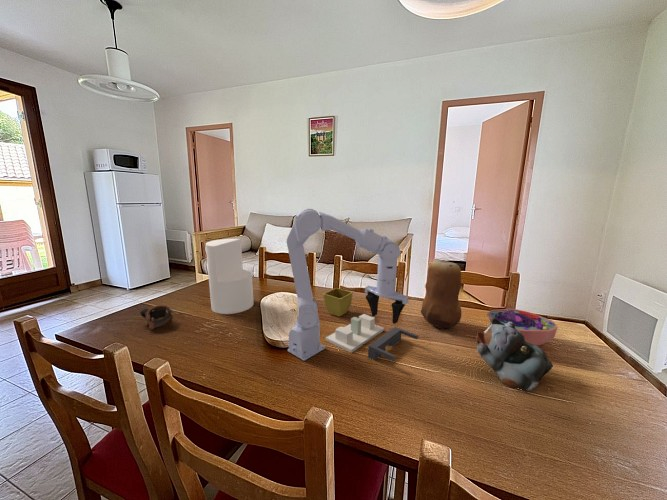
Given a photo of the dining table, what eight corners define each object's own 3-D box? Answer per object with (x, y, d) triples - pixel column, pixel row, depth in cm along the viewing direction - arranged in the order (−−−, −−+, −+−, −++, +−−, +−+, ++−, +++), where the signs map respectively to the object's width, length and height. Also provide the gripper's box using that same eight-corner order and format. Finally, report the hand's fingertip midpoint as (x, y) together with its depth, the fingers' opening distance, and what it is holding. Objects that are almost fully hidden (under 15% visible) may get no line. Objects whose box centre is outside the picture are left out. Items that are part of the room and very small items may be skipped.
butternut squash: (452, 318, 111) (459, 257, 105) (464, 335, 98) (473, 267, 92) (417, 316, 112) (421, 256, 107) (424, 333, 99) (430, 265, 94)
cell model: (566, 360, 84) (573, 325, 82) (494, 351, 88) (499, 319, 86) (538, 332, 100) (543, 303, 98) (478, 326, 104) (482, 298, 102)
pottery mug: (179, 318, 110) (177, 305, 105) (166, 338, 103) (163, 326, 98) (148, 311, 109) (144, 297, 104) (132, 331, 102) (128, 318, 97)
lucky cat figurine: (522, 400, 68) (494, 340, 69) (480, 385, 81) (457, 335, 82) (565, 366, 73) (538, 311, 74) (519, 357, 86) (496, 310, 87)
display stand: (351, 352, 87) (351, 334, 86) (325, 340, 94) (325, 323, 93) (383, 330, 101) (384, 314, 99) (359, 321, 108) (359, 306, 107)
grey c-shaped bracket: (392, 369, 79) (393, 357, 78) (367, 357, 85) (368, 345, 84) (417, 346, 91) (418, 335, 90) (394, 337, 96) (395, 326, 95)
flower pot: (340, 320, 108) (340, 298, 106) (322, 314, 114) (322, 293, 112) (352, 312, 115) (353, 292, 113) (335, 307, 120) (336, 287, 118)
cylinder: (202, 310, 116) (195, 244, 110) (228, 295, 132) (224, 237, 126) (237, 316, 111) (232, 247, 105) (261, 300, 127) (257, 240, 121)
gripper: (414, 280, 84) (411, 321, 87) (373, 271, 94) (372, 308, 97) (403, 286, 79) (400, 329, 82) (361, 275, 89) (360, 315, 92)
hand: (384, 318), depth 89 cm, fingers open, 7 cm apart
